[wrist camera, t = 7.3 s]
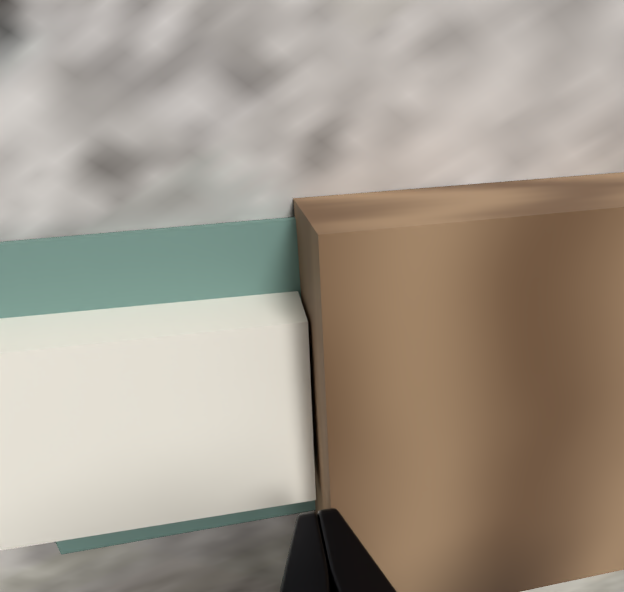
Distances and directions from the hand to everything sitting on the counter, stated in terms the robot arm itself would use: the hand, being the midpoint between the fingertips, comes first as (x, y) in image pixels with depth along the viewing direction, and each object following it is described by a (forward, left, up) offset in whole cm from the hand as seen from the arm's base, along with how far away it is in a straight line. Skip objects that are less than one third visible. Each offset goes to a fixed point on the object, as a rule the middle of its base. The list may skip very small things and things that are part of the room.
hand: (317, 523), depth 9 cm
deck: (-6, 0, -5) cm, 8 cm away
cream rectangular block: (+4, -1, -5) cm, 6 cm away
